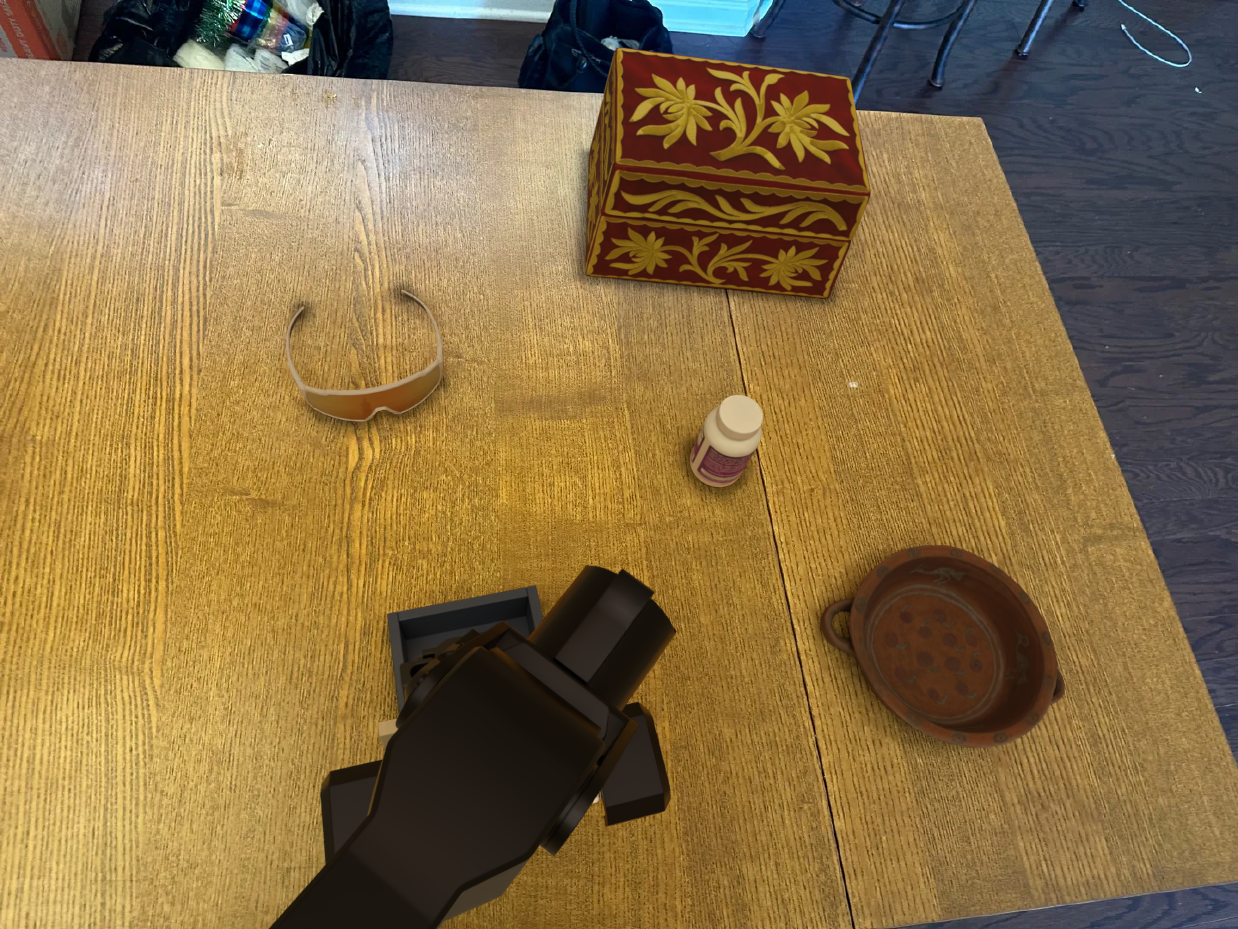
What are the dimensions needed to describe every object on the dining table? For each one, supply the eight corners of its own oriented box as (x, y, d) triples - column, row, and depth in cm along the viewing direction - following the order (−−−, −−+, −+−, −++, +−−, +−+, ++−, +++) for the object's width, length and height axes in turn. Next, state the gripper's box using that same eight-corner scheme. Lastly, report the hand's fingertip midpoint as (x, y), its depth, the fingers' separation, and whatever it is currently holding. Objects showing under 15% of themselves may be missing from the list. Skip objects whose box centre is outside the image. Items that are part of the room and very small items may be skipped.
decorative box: (584, 276, 87) (600, 169, 74) (588, 153, 96) (603, 37, 83) (828, 300, 91) (886, 201, 77) (811, 179, 99) (860, 71, 86)
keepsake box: (395, 635, 67) (386, 613, 62) (532, 608, 70) (536, 584, 64) (419, 821, 61) (411, 815, 56) (568, 784, 64) (575, 775, 58)
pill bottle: (752, 474, 79) (783, 425, 71) (709, 497, 77) (735, 450, 69) (721, 431, 81) (748, 378, 72) (677, 453, 79) (700, 402, 70)
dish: (821, 536, 77) (841, 515, 73) (1043, 594, 77) (1076, 577, 73) (802, 720, 69) (823, 709, 64) (1050, 784, 69) (1088, 778, 65)
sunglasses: (306, 442, 74) (293, 408, 70) (285, 327, 82) (272, 290, 78) (459, 410, 78) (456, 375, 74) (426, 302, 85) (420, 266, 81)
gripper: (644, 586, 45) (608, 655, 58) (287, 655, 40) (339, 712, 54) (699, 798, 40) (647, 819, 54) (303, 901, 36) (356, 895, 50)
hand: (499, 805), depth 53 cm, fingers closed
